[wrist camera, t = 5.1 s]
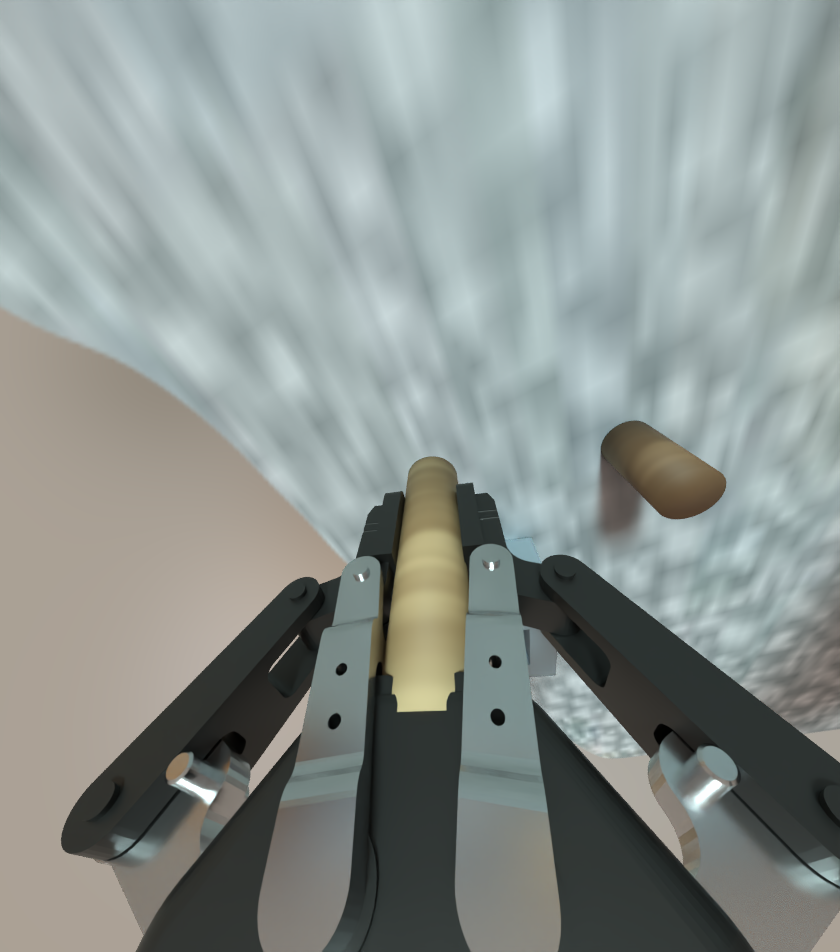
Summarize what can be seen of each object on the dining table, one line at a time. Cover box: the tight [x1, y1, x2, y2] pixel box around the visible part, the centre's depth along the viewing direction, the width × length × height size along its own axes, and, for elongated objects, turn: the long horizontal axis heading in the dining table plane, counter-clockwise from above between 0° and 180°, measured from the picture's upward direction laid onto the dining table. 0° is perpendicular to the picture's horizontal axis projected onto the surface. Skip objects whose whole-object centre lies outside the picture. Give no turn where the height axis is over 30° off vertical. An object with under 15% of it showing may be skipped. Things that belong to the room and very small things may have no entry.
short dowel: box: [601, 421, 726, 519], centre depth 14 cm, size 2×2×4 cm
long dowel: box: [382, 457, 469, 712], centre depth 11 cm, size 2×2×10 cm
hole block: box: [505, 537, 557, 677], centre depth 19 cm, size 6×6×5 cm
